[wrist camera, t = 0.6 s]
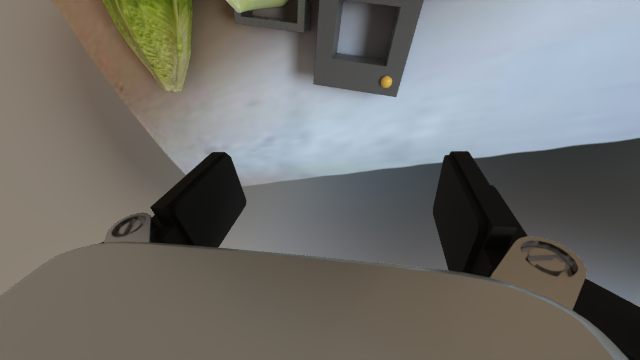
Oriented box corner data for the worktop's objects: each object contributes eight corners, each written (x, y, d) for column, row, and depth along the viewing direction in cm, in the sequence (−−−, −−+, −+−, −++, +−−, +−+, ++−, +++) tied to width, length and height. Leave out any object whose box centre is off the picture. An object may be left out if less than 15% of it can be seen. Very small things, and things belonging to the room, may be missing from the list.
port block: (329, -39, 33) (322, -45, 29) (426, -29, 32) (433, -34, 27) (319, 76, 42) (312, 84, 38) (394, 87, 41) (396, 97, 36)
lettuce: (124, 81, 45) (145, 113, 39) (52, -124, 29) (69, -123, 23) (191, 75, 52) (218, 101, 46) (164, -92, 36) (200, -85, 30)
